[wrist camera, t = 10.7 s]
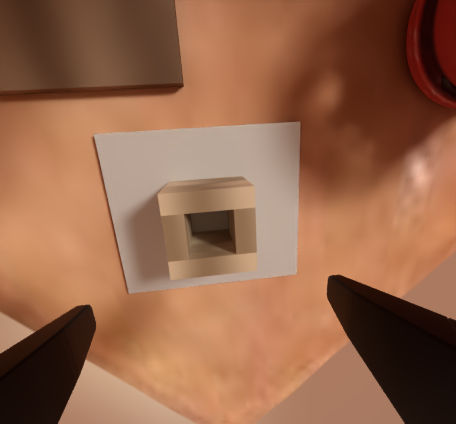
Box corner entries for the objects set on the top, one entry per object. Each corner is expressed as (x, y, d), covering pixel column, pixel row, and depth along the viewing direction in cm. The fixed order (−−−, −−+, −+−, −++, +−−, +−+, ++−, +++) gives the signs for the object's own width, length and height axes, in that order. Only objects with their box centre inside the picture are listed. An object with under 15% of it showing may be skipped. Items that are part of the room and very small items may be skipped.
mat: (298, 121, 19) (300, 121, 18) (295, 272, 23) (296, 274, 22) (96, 134, 17) (93, 134, 17) (130, 291, 21) (128, 293, 21)
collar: (241, 176, 19) (254, 186, 14) (245, 241, 21) (257, 270, 16) (169, 181, 19) (157, 194, 14) (178, 248, 20) (170, 280, 16)
